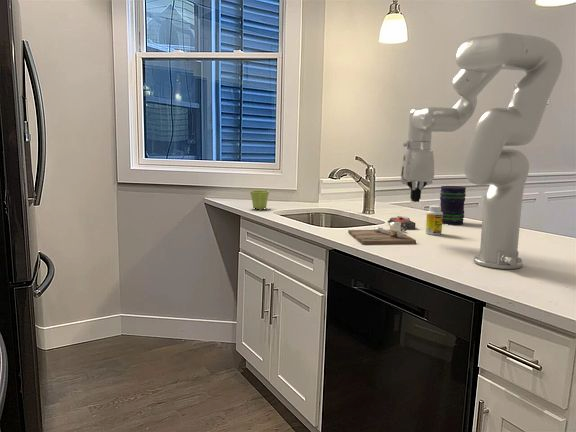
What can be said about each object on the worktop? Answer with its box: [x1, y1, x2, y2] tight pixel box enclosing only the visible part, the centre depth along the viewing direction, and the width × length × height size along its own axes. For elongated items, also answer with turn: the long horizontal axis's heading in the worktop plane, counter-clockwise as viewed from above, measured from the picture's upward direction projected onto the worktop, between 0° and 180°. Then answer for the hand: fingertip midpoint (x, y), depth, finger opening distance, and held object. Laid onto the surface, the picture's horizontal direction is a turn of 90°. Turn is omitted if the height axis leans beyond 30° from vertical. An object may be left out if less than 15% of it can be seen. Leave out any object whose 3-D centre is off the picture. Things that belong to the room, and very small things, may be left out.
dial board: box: [347, 229, 417, 246], centre depth 169 cm, size 19×18×1 cm
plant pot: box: [249, 189, 271, 210], centre depth 234 cm, size 9×9×9 cm
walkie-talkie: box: [387, 215, 417, 232], centre depth 189 cm, size 9×4×20 cm
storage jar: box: [439, 185, 467, 226], centre depth 201 cm, size 10×10×15 cm
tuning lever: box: [373, 222, 403, 238], centre depth 170 cm, size 14×4×4 cm, turn 27°
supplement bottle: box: [425, 205, 443, 236], centre depth 178 cm, size 6×6×10 cm
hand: (415, 201), depth 166 cm, fingers closed
